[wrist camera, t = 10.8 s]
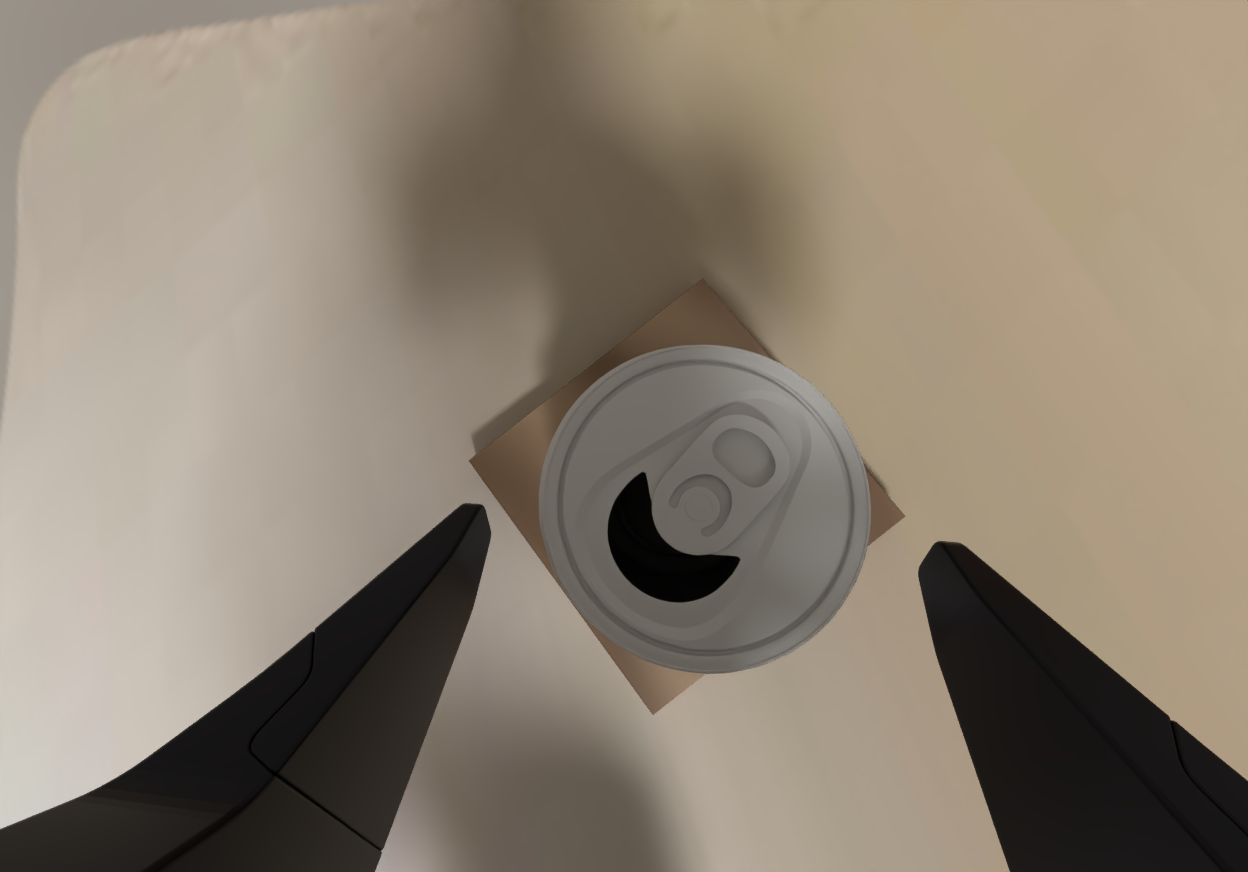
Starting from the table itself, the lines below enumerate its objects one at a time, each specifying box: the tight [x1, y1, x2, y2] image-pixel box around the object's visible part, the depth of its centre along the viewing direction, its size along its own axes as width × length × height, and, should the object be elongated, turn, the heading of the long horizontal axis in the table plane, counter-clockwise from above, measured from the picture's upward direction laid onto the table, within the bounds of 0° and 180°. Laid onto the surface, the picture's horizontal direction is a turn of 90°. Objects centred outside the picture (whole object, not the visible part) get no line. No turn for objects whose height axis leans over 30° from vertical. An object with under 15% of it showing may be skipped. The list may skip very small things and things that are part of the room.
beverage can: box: [539, 345, 871, 674], centre depth 14 cm, size 6×6×12 cm
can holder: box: [469, 279, 905, 715], centre depth 19 cm, size 13×13×4 cm
